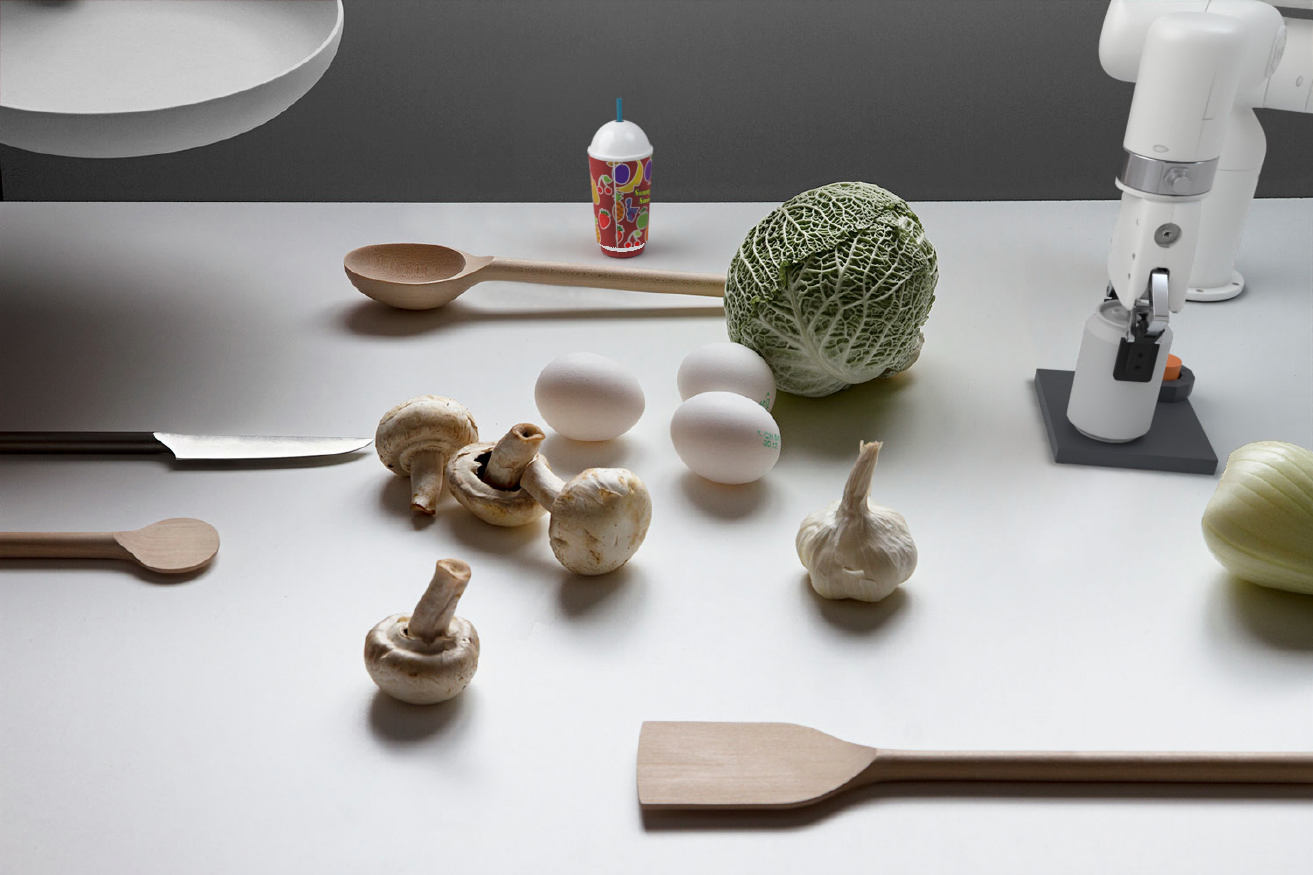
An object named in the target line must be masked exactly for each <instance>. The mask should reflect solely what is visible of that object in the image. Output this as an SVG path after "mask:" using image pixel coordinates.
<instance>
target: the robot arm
mask: <svg viewBox="0 0 1313 875" xmlns="http://www.w3.org/2000/svg"><path fill="white" fill-rule="evenodd" d="M1276 7H1282V8H1293V9H1305V10H1313V0H1110V3H1109V5H1108V8H1107V11H1106V14H1105V17H1104V20H1103V24H1102V27H1101V28H1102V29H1101V31H1100V32H1101V33H1100V36H1099V41H1098V56H1099V57H1098V58H1099V63H1100V66H1101V67H1102V70H1103V71H1104V72H1105V73H1106V74H1107V75H1108V76H1110V77H1111V78H1113V79H1115V80H1119V81H1122V82H1129V83H1134V84H1135V86H1134V90H1133V95H1132V96H1133V97H1132V101H1131V105H1130V110H1129V115H1128V119H1127V124H1126V129H1125V133H1124V138H1123V144H1122V148H1121V152H1120V157H1119V158H1120V159H1119V163H1118V167H1117V173H1116V177H1115V181H1114V184H1115V186H1116V188H1118V189H1119V190H1120V191H1123V192H1122V194H1121V198H1120V202H1119V205H1118V206H1119V207H1118V210H1117V214H1116V218H1115V222H1114V226H1113V231H1112V236H1111V238H1110V239H1111V240H1110V244H1109V250H1108V256H1107V264H1106V270H1107V275H1108V278H1109V281H1108V283H1107V285H1106V290H1105V297H1106V298H1105V297H1104V299H1103V302H1106V301H1110V300H1120V302H1121V304H1122V305H1123V306H1124V307H1125V308H1126V309H1127V310H1128V314H1127V326H1126V338H1125V337H1121V340H1120V344H1119V349H1118V353H1117V357H1116V362H1115V366H1114V371H1113V377H1114V379H1115V380H1116V381H1129V382H1143V383H1148V382H1150V381H1151V379H1152V376H1153V372H1154V368H1155V364H1156V360H1157V356H1158V352H1159V348H1160V344H1161V342H1162V337H1163V333H1164V332H1165V329H1164V328H1165V326H1166V324H1167V323H1168V320H1169V321H1170V312H1171V313H1173V314H1179V313H1181V312H1182V311H1183V310H1184V308H1185V303H1186V300H1188V301H1199V302H1215V301H1216V302H1217V301H1224V300H1230V299H1231V298H1232V299H1233V298H1235V297H1237V296H1238V295H1240V294H1241V292H1242V291H1243V289H1244V285H1245V279H1244V277H1243V276H1242V274H1241V273H1240V272H1238V270H1236V269H1235V264H1236V262H1237V258H1238V254H1239V252H1240V251H1239V250H1240V247H1241V243H1242V240H1243V236H1244V232H1245V229H1246V227H1247V226H1246V225H1247V222H1248V218H1249V214H1250V211H1251V208H1252V204H1253V201H1254V196H1255V193H1256V190H1257V186H1258V182H1259V179H1260V175H1261V171H1262V168H1263V165H1264V161H1265V157H1266V153H1267V139H1266V138H1267V137H1266V134H1265V132H1264V129H1263V127H1262V125H1261V122H1260V121H1259V119H1258V117H1257V116H1256V113H1255V111H1254V108H1256V109H1257V108H1258V109H1264V108H1266V109H1271V110H1272V109H1273V110H1280V111H1288V112H1297V113H1305V114H1307V113H1308V114H1313V19H1305V18H1294V17H1290V16H1282V14H1281V12H1280V11H1279V9H1277V8H1276ZM1137 301H1140V302H1142V301H1148V304H1149V306H1141V305H1136V302H1137ZM1137 314H1148V316H1147V320H1146V321H1141V322H1140V324H1139V325H1138V326H1137V327H1136V324H1137ZM1168 324H1169V323H1168ZM1168 324H1167V325H1168Z"/></svg>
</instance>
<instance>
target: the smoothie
mask: <svg viewBox="0 0 1313 875" xmlns="http://www.w3.org/2000/svg"><path fill="white" fill-rule="evenodd" d="M586 152H587V155H588V166H589V174H590V175H589V176H590V186H591V194H592V195H591V196H592V206H593V215H594V216H593V217H594V225H595V237H596V242H597V241H598V242H599V243H600V244H601V245H603V246H609V247H612V248H613V247H614V248H615V247H616V248H629V247H634V246H640V245H642V244H643V243H646V241H647V240H648V241H649V227H650V207H651V205H650V204H651V191H652V190H651V189H652V169H653V168H652V167H653V155H654V154H653V153H654V147H653V145H652V144H651V142H650V140H649V138H648V136H647V135H646V133H645V132H644V131H643V129H642V128H641V127H640V126H639V125H638V124H636V123H634V122H632V121H630V120H627V119H623V99H622V98H621V97H617V98H616V119H614V120H611V121H608V122H606V123H605V124H603V125H602V126H601V127H599V129H598V130H597V131H596V132H595V134H594V135H593V137H592V140H591V143H590V145H589V146H588V147H587V151H586ZM646 244H647V243H646ZM645 246H646V245H644V246H643V247H642V248H640V249H637V250H634V251H627V252H617V251H610V250H607V249H605V248H603V247H602V246H600V250H601V253H602V254H604V255H606V256H608V257H612V258H618V259H627V258H633V257H636V256H638V255H640V254H642V253H643V252H644V251H645Z"/></svg>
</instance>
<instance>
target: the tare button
mask: <svg viewBox="0 0 1313 875" xmlns="http://www.w3.org/2000/svg"><path fill="white" fill-rule="evenodd" d="M1181 365H1183V361H1182V359H1180V357H1179V356H1176V355H1174V354H1171V353H1169V356H1168V360H1167V363H1166V367H1165V371H1164V375H1163V379H1162V380H1164V381H1173V380H1177V379H1178V376H1179V372H1180V368H1181Z"/></svg>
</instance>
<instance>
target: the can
mask: <svg viewBox="0 0 1313 875" xmlns="http://www.w3.org/2000/svg"><path fill="white" fill-rule="evenodd" d="M1140 301H1141V300H1140ZM1140 301H1137V302H1136V305H1141V306H1149V302H1145V301H1144V302H1143V301H1141V302H1140ZM1127 314H1128V310H1127V309H1126V308H1125V307H1124V306H1123V305H1122V304H1121V302H1120V300H1110V301H1106V302H1104V301H1103V302H1101V303H1099V304H1098V305H1097V306H1096V307H1095V313H1093V314H1092V315H1090V316H1089V317H1088V318H1086V320H1085V324H1084V330H1083V333H1082V338H1081V343H1080V347H1079V352H1078V357H1077V362H1076V367H1075V370H1074V371H1075V376H1074V381H1073V385H1072V390H1071V395H1070V400H1069V404H1068V409H1067V416H1068V418H1069V420H1070V422H1071V423H1072V424H1074V425H1075V427H1076V429H1077V430H1079V431H1080V432H1081V433H1082V434H1084V435H1086V436H1088V437H1090V438H1093V439H1096V440H1099V441H1104V442H1110V443H1122V442H1128V441H1131V440H1133V439H1136V438H1137V437H1139V436H1142V435H1144V434H1146V433H1147V431H1148V430H1149V429H1150V426H1151V422H1152V418H1153V414H1154V411H1155V407H1156V403H1157V399H1158V395H1159V391H1160V387H1161V383H1162V379H1163V375H1164V371H1165V367H1166V363H1167V360H1168V356H1169V354H1170V351H1171V347H1172V344H1173V340H1174V332H1173V330H1172V329H1171V327H1170V325H1168V324H1169V323H1170V319H1169V320H1168V323H1167V324H1166V326H1165V328H1164V329H1165V332H1164V333H1163V337H1162V342H1161V344H1160V348H1159V352H1158V356H1157V360H1156V364H1155V368H1154V372H1153V376H1152V379H1151V381H1150V382H1148V383H1143V382H1129V381H1116V380H1115V379H1114V377H1113V371H1114V366H1115V362H1116V357H1117V353H1118V349H1119V344H1120V340H1121V337H1125V338H1126V326H1127ZM1147 316H1148V314H1137V324H1136V327H1137V326H1138V325H1139V324H1140V322H1141V321H1146V320H1147Z"/></svg>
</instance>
